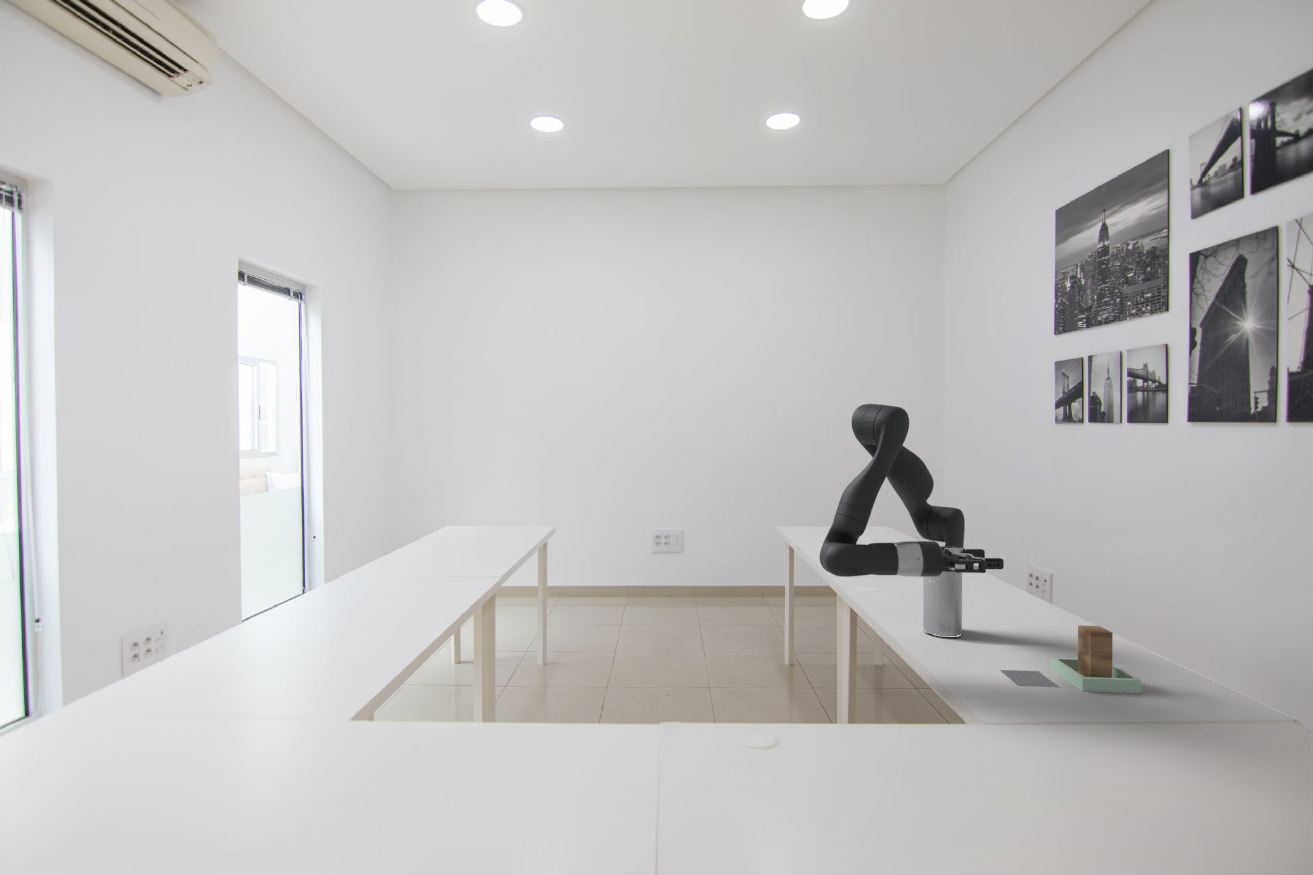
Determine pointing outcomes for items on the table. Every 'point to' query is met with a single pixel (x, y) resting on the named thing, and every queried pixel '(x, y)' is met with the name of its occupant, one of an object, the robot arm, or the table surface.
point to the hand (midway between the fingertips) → (993, 558)
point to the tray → (1096, 678)
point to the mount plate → (1028, 678)
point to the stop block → (1094, 651)
